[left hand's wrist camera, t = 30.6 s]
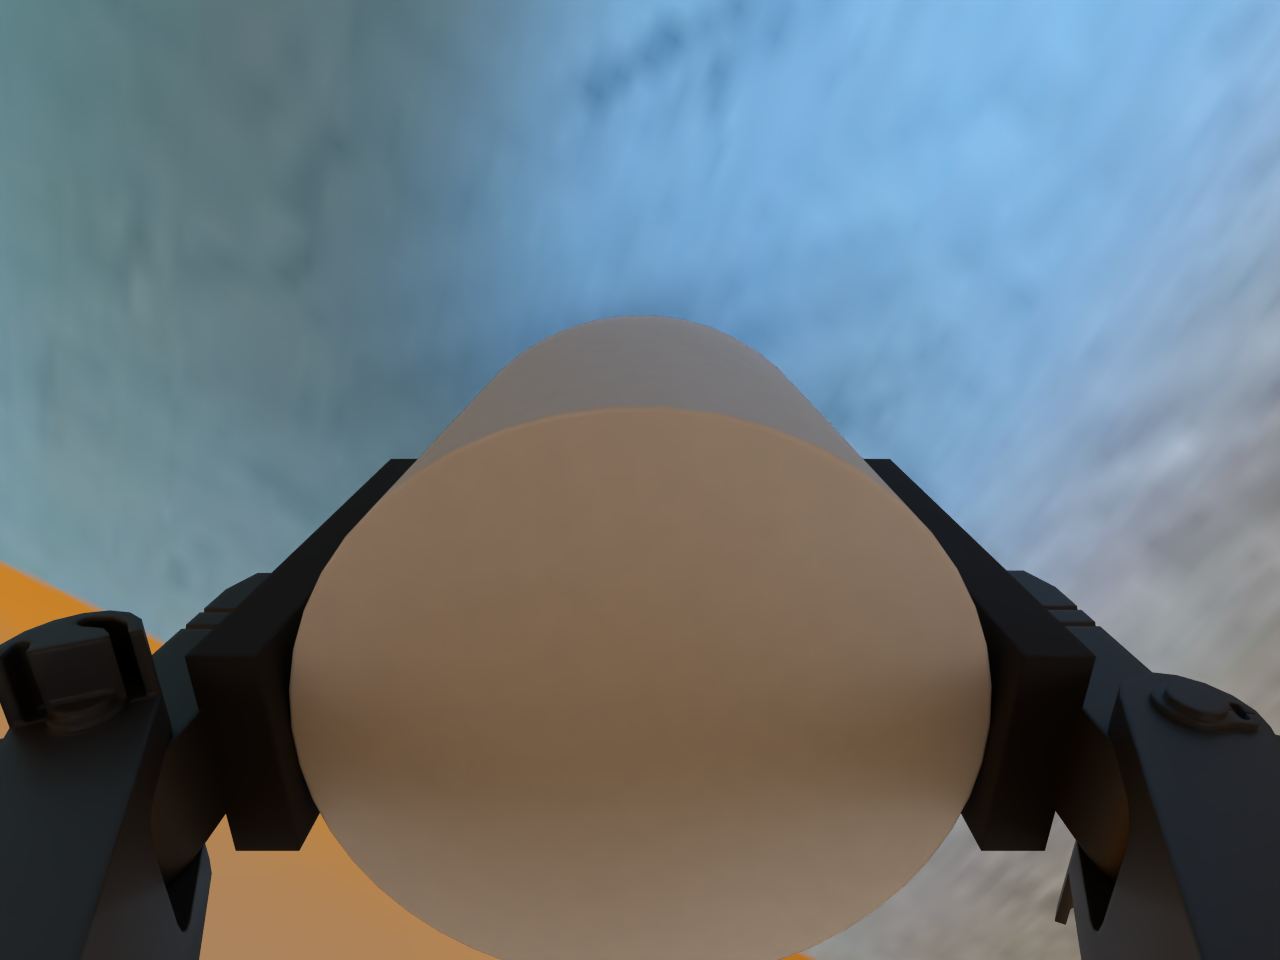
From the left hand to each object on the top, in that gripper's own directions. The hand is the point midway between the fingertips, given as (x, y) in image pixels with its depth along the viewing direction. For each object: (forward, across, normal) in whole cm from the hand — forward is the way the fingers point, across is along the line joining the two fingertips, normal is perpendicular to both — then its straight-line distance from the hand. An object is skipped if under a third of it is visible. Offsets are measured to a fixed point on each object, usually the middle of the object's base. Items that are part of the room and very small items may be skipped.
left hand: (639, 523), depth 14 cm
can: (+1, 0, 0) cm, 1 cm away
